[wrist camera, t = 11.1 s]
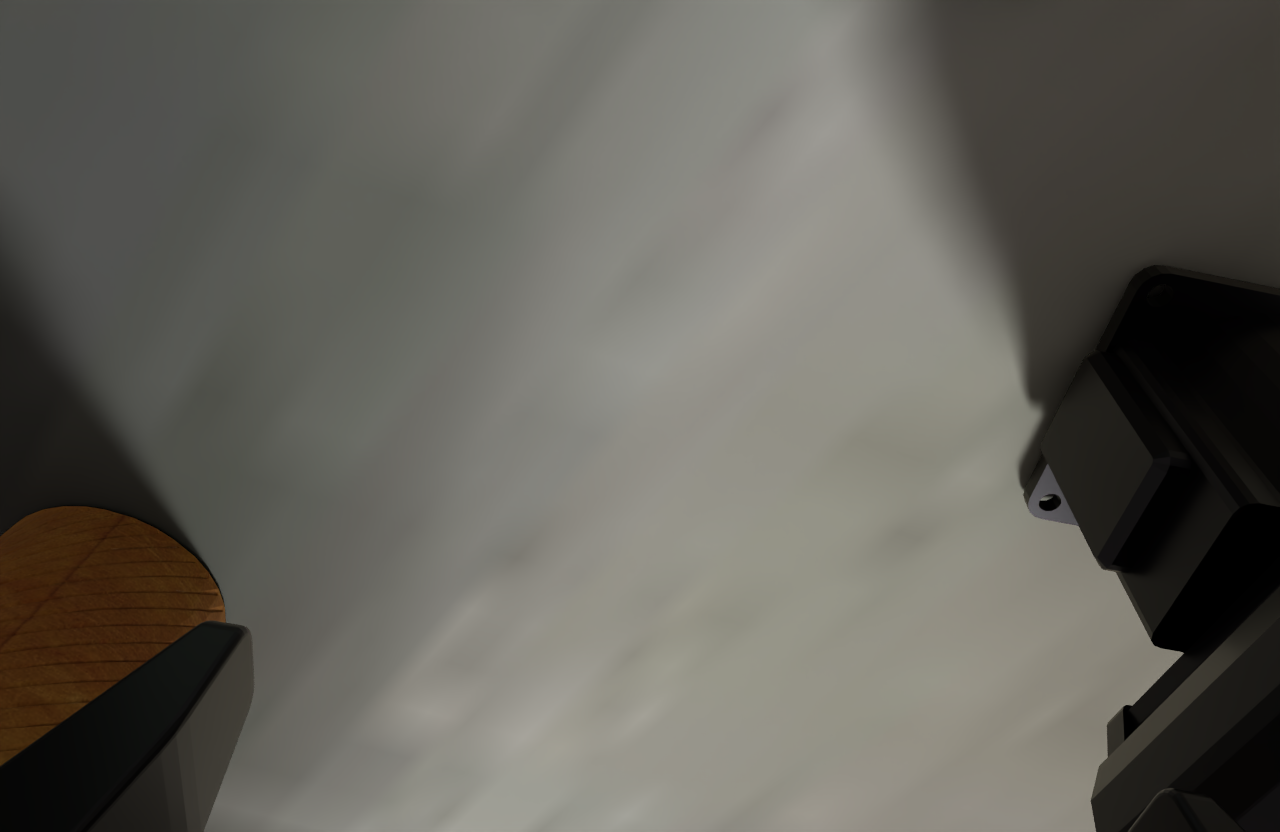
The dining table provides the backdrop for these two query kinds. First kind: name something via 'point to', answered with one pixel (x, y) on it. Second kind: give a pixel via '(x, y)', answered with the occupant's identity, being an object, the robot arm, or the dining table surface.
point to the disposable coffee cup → (87, 611)
